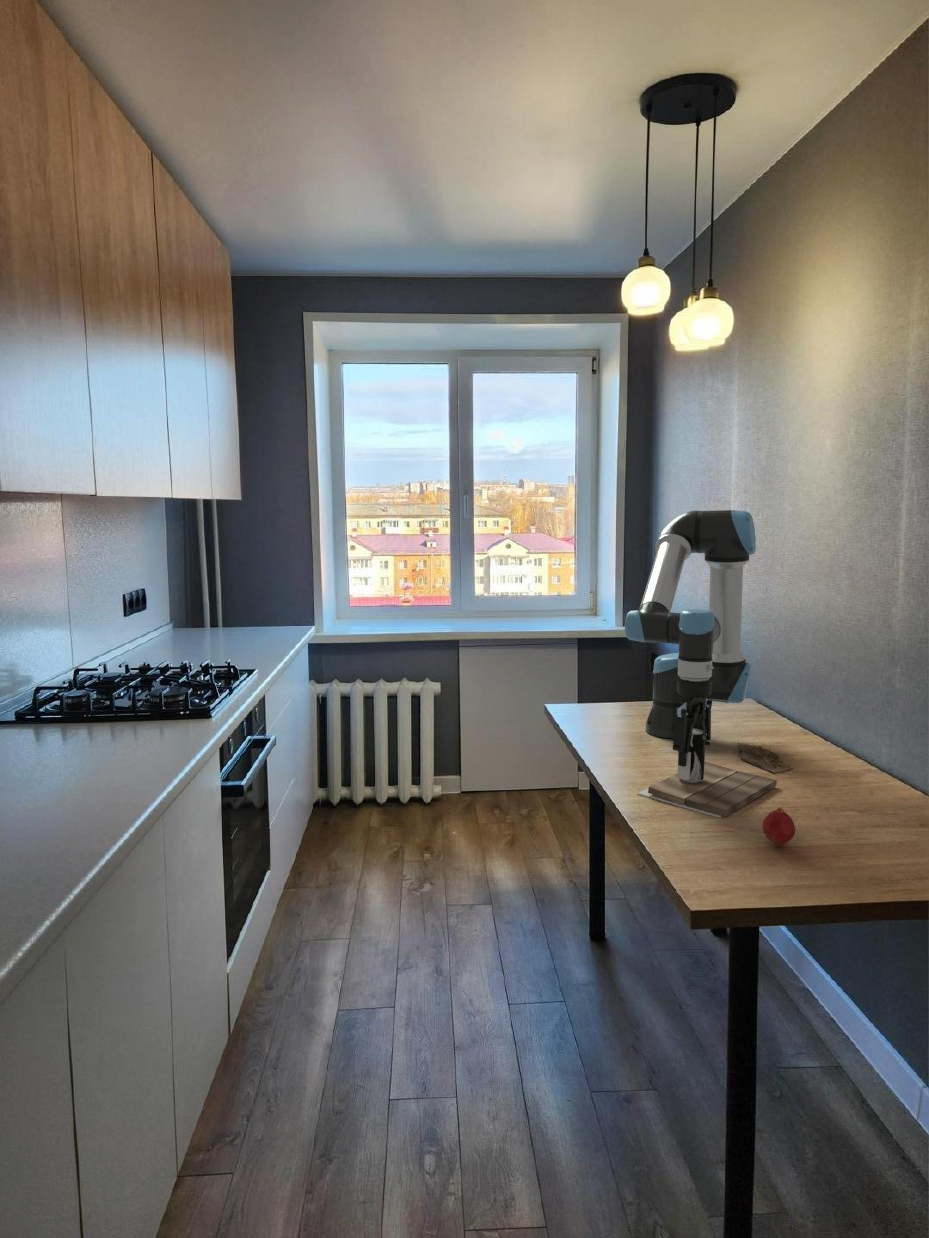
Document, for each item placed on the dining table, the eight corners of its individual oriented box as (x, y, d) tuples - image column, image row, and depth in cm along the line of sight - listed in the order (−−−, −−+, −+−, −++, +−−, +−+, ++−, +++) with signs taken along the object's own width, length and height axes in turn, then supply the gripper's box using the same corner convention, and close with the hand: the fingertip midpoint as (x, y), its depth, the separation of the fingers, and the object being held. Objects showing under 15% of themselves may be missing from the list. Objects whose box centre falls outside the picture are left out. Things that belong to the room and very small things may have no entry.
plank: (703, 766, 193) (703, 760, 193) (737, 776, 187) (738, 770, 187) (648, 792, 175) (648, 786, 175) (684, 805, 169) (684, 798, 168)
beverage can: (672, 778, 180) (674, 729, 179) (690, 774, 183) (692, 725, 182) (690, 786, 175) (693, 735, 174) (708, 782, 178) (711, 731, 177)
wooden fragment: (798, 775, 190) (798, 771, 190) (752, 774, 190) (753, 770, 190) (764, 744, 215) (764, 741, 215) (724, 744, 216) (724, 740, 216)
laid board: (739, 777, 187) (739, 770, 186) (776, 786, 180) (776, 779, 180) (685, 805, 168) (685, 798, 168) (724, 816, 162) (725, 809, 162)
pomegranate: (756, 840, 151) (758, 801, 150) (784, 839, 151) (786, 800, 150) (770, 853, 145) (772, 812, 144) (799, 852, 146) (802, 811, 145)
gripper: (688, 686, 167) (685, 789, 170) (729, 673, 180) (725, 769, 183) (658, 681, 172) (655, 781, 175) (699, 669, 185) (696, 762, 188)
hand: (690, 775), depth 179 cm, fingers open, 6 cm apart
